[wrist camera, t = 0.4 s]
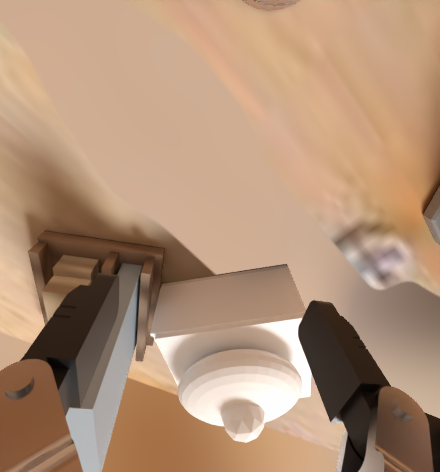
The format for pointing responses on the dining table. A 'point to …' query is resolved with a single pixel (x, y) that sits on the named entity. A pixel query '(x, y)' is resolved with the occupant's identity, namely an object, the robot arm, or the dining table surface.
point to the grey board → (108, 378)
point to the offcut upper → (59, 291)
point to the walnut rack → (103, 270)
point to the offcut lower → (77, 267)
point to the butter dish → (234, 347)
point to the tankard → (434, 216)
